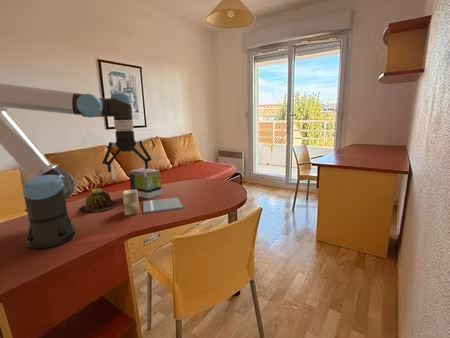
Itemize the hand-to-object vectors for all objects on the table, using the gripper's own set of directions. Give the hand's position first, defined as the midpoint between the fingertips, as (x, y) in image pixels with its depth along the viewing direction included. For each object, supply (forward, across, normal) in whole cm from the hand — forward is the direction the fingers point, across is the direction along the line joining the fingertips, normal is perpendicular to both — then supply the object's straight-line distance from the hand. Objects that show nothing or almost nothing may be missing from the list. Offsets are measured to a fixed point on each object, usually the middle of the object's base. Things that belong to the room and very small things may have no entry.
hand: (129, 177), depth 110 cm
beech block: (+16, 0, 0) cm, 17 cm away
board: (+17, +14, +4) cm, 22 cm away
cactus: (+17, -17, +14) cm, 27 cm away
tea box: (+17, +6, +26) cm, 32 cm away
